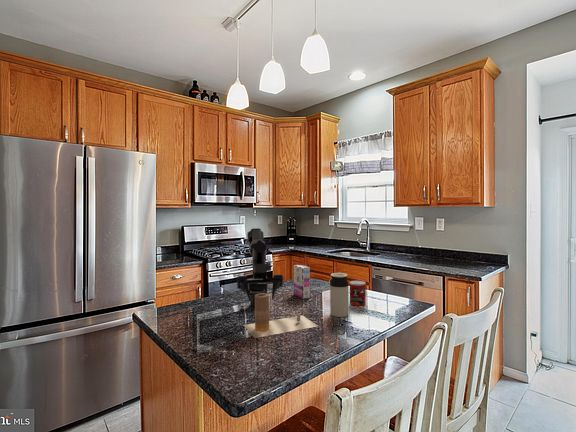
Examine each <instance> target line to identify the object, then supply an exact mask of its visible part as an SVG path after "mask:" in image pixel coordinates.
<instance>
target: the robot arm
mask: <svg viewBox="0 0 576 432" xmlns="http://www.w3.org/2000/svg"><path fill="white" fill-rule="evenodd" d="M246 236H247V237H246V240H247V242H248V247H249V254H250V255H251V257H252V260H251V262H252V274H251V275H250V277H249V278H248V276H247V275H238V276H237V277H236V286H237V289H238V290H241V291H242V292H244V293H245V296H246V298H247V300H248V302H250V303H249V305H248V307H249V308H254V309H255V295H256V294H260V293H265V294H268V284H272V287H271V288H272V289H271V290H272V291H271V300H274V299H275V294H276V292H277V290H278V289H280V288H282V287H283V286H284V285H283V284H284V276H283V274H279V273H278V274H273V275H272V277H269V278H268V272H271V271H272V263H271V262H270V261H269V262H266V259H267V253H268V252H269V247H268V245H267V244H266V242H265V241H264V240H265V237H264V231H262V229H261V228H251V229H250V230H249V231H248V232H247V235H246Z"/></svg>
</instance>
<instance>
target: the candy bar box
mask: <svg viewBox="0 0 576 432" xmlns="http://www.w3.org/2000/svg"><path fill="white" fill-rule="evenodd" d="M293 295H294V296H296V297H298V298H300V299H301V300H305V299H311V267H309V266H306V265H304V264H303V265H302V264H295V265H293Z"/></svg>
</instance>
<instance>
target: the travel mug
mask: <svg viewBox="0 0 576 432" xmlns="http://www.w3.org/2000/svg"><path fill="white" fill-rule="evenodd" d="M330 277H331V279H330V280H329V289H330V290H329V299H330V303H329V304H330V305H329V306H330V308H329V309H330V311H329V313H330V316H332V317H335V318H345V317H348V316H349V315H350V314H349V312H350V311H349V280H348V279H347V278H348V274H347V273H345V272H333V273H331V274H330Z"/></svg>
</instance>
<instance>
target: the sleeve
mask: <svg viewBox="0 0 576 432" xmlns="http://www.w3.org/2000/svg"><path fill="white" fill-rule="evenodd" d="M269 298H270V295H269V294H268V293H266V294H265V293H260V294H256V295H255V308H254V323H255V330H256V331H260V332H262V331H267V330H268V329H269V321H270V303H269V302H270V299H269Z"/></svg>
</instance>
